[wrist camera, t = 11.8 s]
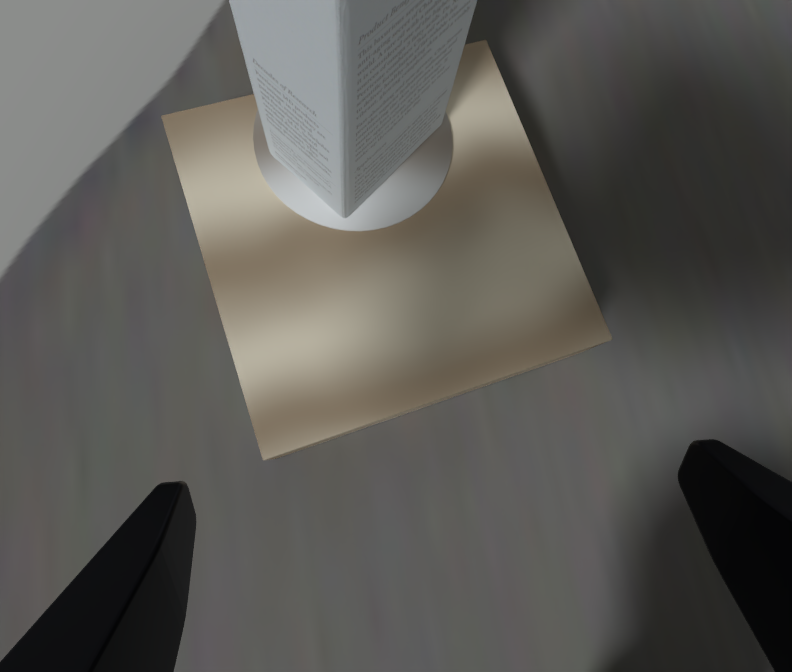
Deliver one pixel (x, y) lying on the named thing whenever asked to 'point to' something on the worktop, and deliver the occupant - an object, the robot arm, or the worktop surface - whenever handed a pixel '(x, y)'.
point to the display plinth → (383, 267)
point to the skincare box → (350, 84)
